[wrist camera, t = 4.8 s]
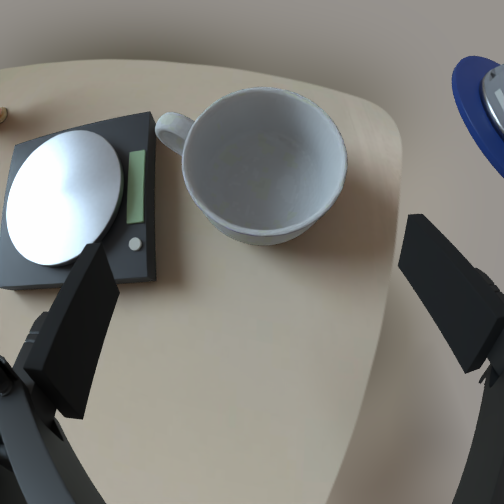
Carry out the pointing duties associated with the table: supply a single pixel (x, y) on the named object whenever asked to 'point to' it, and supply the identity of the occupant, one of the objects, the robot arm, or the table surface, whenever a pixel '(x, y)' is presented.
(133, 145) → the scale
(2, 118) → the grandmother figurine
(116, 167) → the scale pan
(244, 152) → the teacup
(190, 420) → the table surface
